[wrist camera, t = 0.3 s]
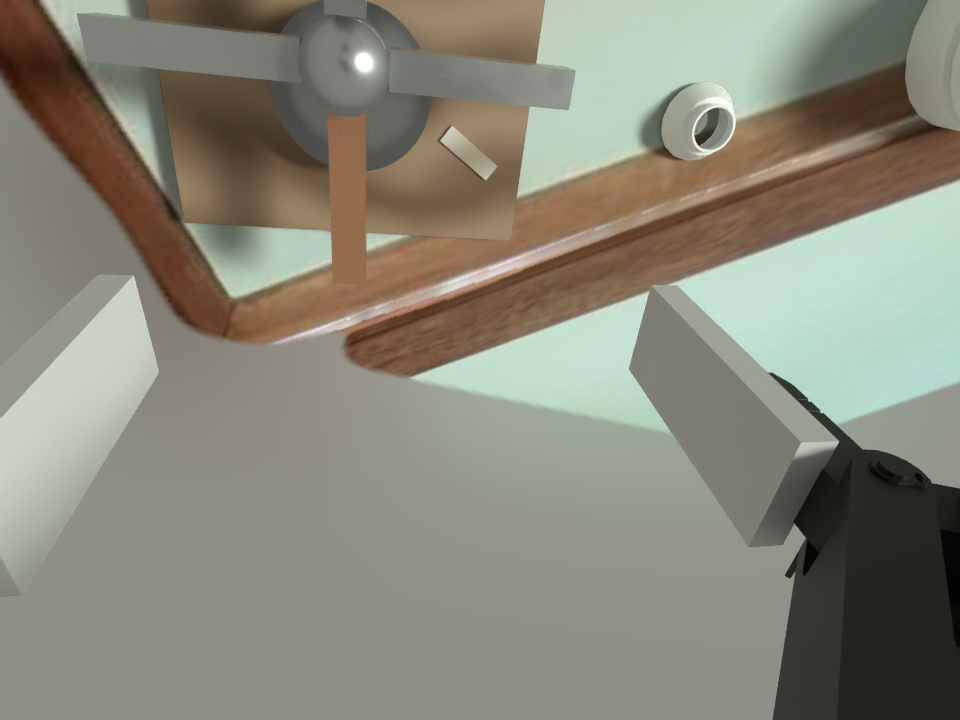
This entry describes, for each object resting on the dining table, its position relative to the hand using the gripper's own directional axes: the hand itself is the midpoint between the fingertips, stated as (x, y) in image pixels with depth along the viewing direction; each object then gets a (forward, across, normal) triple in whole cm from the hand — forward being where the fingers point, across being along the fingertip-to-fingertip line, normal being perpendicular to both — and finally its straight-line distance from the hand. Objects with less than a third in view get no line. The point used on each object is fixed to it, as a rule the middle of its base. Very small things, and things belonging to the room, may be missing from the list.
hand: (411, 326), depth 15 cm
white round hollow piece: (+27, +21, +2) cm, 34 cm away
